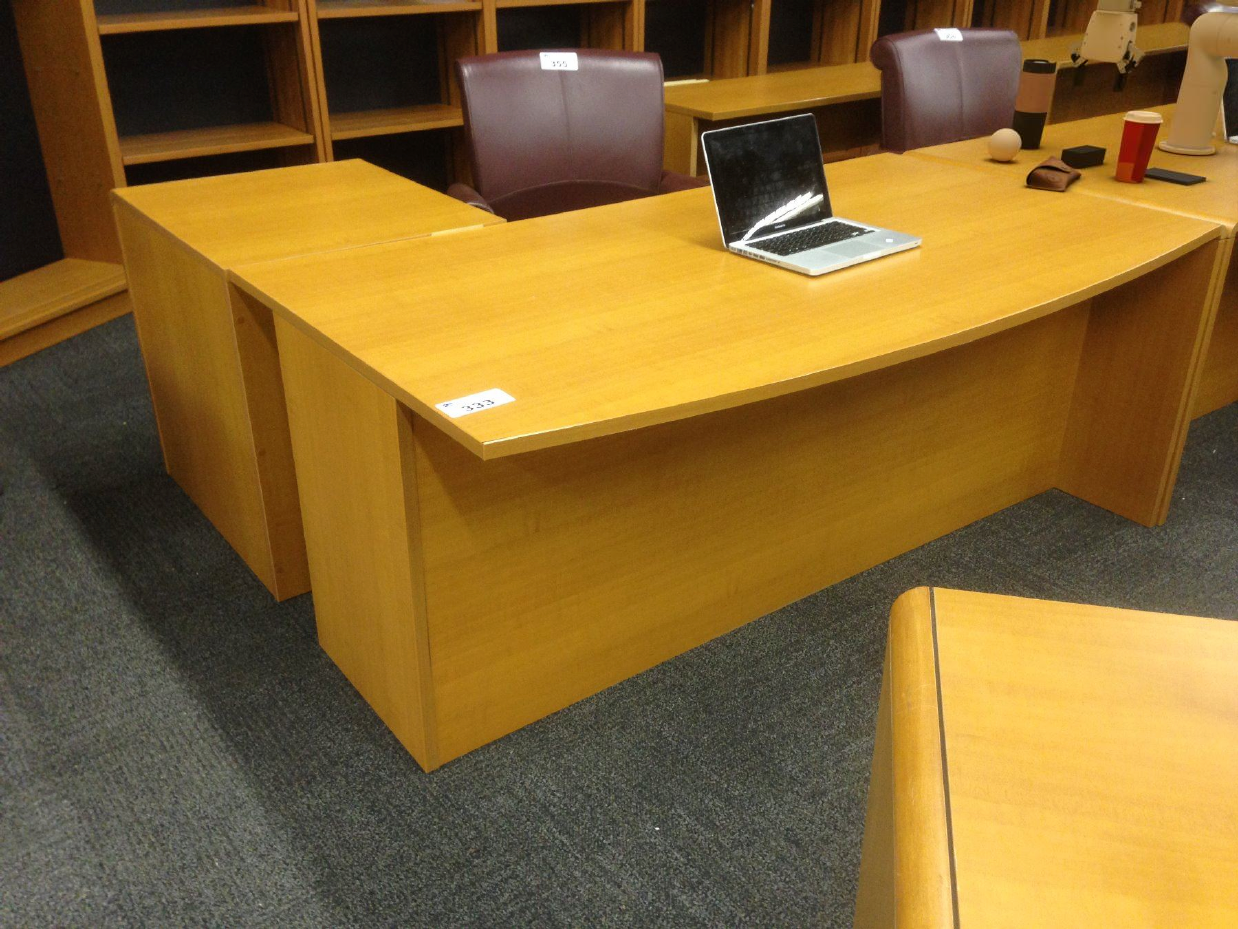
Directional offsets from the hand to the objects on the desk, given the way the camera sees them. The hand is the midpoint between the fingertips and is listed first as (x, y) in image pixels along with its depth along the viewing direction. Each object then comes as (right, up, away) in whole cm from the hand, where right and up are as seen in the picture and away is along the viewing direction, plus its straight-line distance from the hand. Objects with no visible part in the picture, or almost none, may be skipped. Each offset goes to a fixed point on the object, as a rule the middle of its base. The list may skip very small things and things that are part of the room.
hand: (1097, 88), depth 235 cm
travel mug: (-6, -5, +26) cm, 28 cm away
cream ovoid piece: (-17, -13, +11) cm, 24 cm away
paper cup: (+4, -22, -5) cm, 23 cm away
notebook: (+15, -21, -3) cm, 26 cm away
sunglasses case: (-13, -23, -8) cm, 28 cm away
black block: (0, -14, +8) cm, 17 cm away
